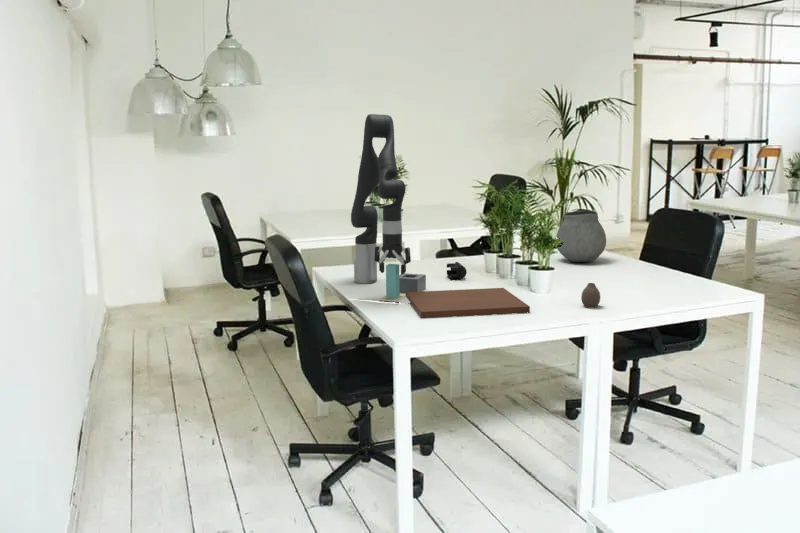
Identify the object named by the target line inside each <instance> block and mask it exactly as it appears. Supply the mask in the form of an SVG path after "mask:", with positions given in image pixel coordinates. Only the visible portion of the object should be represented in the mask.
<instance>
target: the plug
mask: <svg viewBox="0 0 800 533" xmlns="http://www.w3.org/2000/svg"><path fill="white" fill-rule="evenodd" d="M399 275H400V264H399V263H389V264H388V263H387V264H386V265H385V281H386V282H385V287H386V288H385V292H386V293H385V294H386V295H385V296H386V298H391V299H397V298H398V297H400V296H401V295H400V294H401V293H400V287H399Z"/></svg>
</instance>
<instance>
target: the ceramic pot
mask: <svg viewBox="0 0 800 533" xmlns="http://www.w3.org/2000/svg"><path fill="white" fill-rule="evenodd" d="M562 216H563V221H562V223H561V225H559V228H558V230H557V231H556V232H557V233H556V235H555V238H556V237H557V238H560V239H562V240H563V241H564V243H563V245H562V246H561V247H559V248H558V249H557V250H558V252H559V254H560V255H562V257H564V258H565V259H566V260H568V261H569V262H572V263H589V262H593V261H596V260H597V259H598V258H599V257H600V256H601V255H602V254H603V253H604V251H605V249H606V246H607V236H606V231H605V229H604V227H603V226H602V224H601V222H600V221H599V217H598V216H599V215H598V211H595V210H577V211H569V212H565V213H563V215H562Z"/></svg>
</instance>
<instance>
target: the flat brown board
mask: <svg viewBox="0 0 800 533" xmlns="http://www.w3.org/2000/svg"><path fill="white" fill-rule="evenodd" d="M405 296H406V298H407V299H408V301H409V304H410V306H411V307H412V309H414V311H415V312H416V313H418V314H417V315H418V316H419V317H420V319H433V318H434V319H436V318H454V317H453V316H457V317H474V315H477V316H492V314H497V315H512V313H517V314H529V313H531V312H530V309H531V306H530V305H528V304H527V303H525V302H524V301H523V300H521V299H520V298H519V297H517V295H516V296H515V295H514V294H513V293H511V292H510V290H509V291H508V289H506V288H504V287H495V288H494V287H491V288H490V287H489V288H473V289H472V288H470V289H469V288H468V289H449V290H448V289H447V290H446V289H444V290H443V289H442V290H430V291H429V290H427V291H425V290H423V291H420V292H406V293H405ZM527 312H528V313H527Z"/></svg>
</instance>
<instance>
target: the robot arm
mask: <svg viewBox="0 0 800 533" xmlns="http://www.w3.org/2000/svg"><path fill="white" fill-rule="evenodd" d="M363 128H364V129H363V142H362V143H363V144H362V152H361V158H360V163H359V168H358V176H357V183H356V184H357V185H356V190H355V194H354V195H355V196H354V201H353V204H352V208H351V213H350V222H351V226H352V227H353V228H355V229H361V228H363V229H364V228H366V229H365V230H364V232H362V233H360V234H358V235H357V236H355V239H354V241H355V242H354V243H355V260H353V272H354V273H353V276H354V278H353V281H354V283H358V284H366V285H367V284H374V283H377V282H378V270H379V272H380V273H382V274H383V273H385V261H386V259H397V260H398V261H399V263H400V274H404V273H406V272H407V264H409V263H411V260H412V259H411V248H410V247H409V246H408V247H403V225H402V206H403V201H404V198H405V194H406V187H407V186H406V184H405V182H404V181H403V180H401V179H396V178H397V176H398V173H399V172H398V167H397V162H396V161H397V160H396V155H395V154H396V152H395V129H394V128H395V126H394V120H393V117H392V116H391V115H389V114H378V113H377V114H375V113H372V114H371V113H370V114H367V116H366V118H365V121H364V127H363ZM374 138H376V139H385V143H384V145H383V148H382V149H381V151H380V152H379V155H377V153H376V151H375V149H374V148H375V147H374V144H373V140H374ZM376 188H377V194H378V196H379V197H380V198H381V199H384V200H387V199H394V201H393V203H389V204H386V205H384V206H383V207H382V226H381V227H382V229H381V230H382V246H381V245H377V244H378V243H377V239H378V223H379V222H378V221H379V220H378V218H379V217H378V210H377V208H376V206H373V205H365V204H366V201H368V198H369V197H370V195H371V194H372V193H373V192H374V191H375V190H376ZM381 252H383V254H382V255H381ZM402 252H403V253H404V256H405V257H404V256H403V254H402ZM380 255H381V256H380ZM378 266H379V267H378Z"/></svg>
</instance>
